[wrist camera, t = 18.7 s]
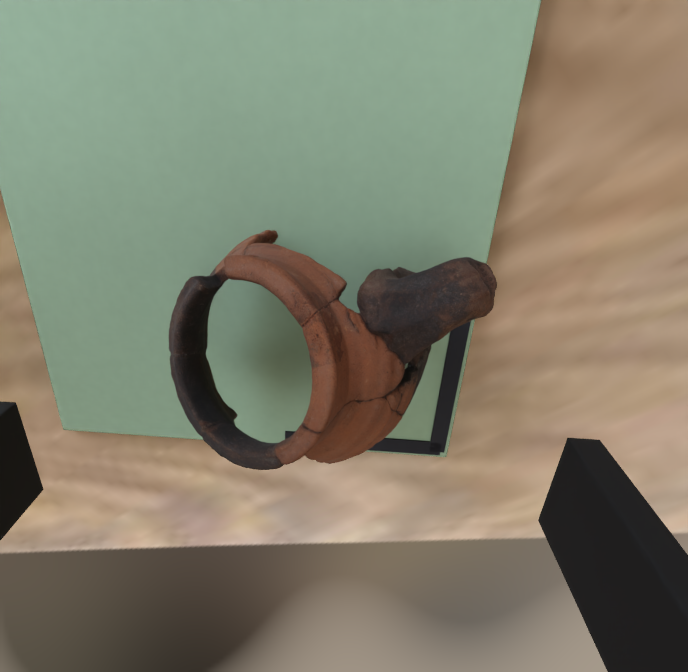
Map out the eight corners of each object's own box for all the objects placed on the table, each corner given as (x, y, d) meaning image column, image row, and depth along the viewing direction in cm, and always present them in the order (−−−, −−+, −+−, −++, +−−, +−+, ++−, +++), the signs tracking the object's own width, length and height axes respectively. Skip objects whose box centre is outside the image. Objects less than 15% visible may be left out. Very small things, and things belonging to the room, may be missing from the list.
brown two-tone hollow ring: (333, 443, 23) (218, 528, 16) (255, 286, 24) (113, 302, 17) (559, 350, 17) (531, 423, 10) (445, 142, 18) (344, 77, 11)
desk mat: (69, 423, 24) (61, 431, 23) (-73, -141, 14) (-94, -154, 13) (444, 450, 24) (446, 459, 23) (556, -99, 14) (565, -109, 13)
